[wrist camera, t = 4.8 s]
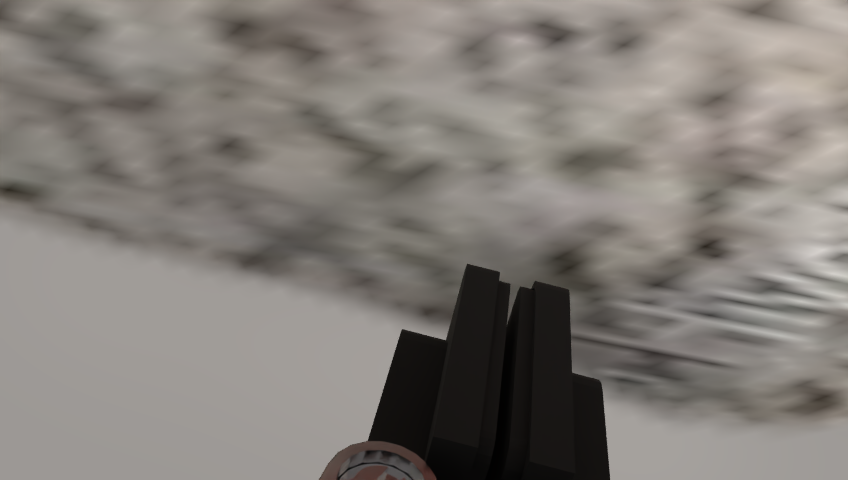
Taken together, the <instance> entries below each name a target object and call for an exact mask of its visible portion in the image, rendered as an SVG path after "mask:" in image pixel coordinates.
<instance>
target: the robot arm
mask: <svg viewBox="0 0 848 480" xmlns="http://www.w3.org/2000/svg"><path fill="white" fill-rule="evenodd" d="M499 275H500V272H498V271H494V270H490V269H486V268H482V267H478V266H474V265H470V264H467V265H466V269H465V272H464V276H463V280H462V283H461V287H460V291H459V294H458V298H457V302H456V305H455V309H454V313H453V316H452V320H451V324H450V328H449V331H448V335H447V339H446V340H442V339H438V338H434V337H430V336H427V335H423V334H419V333H415V332H411V331H407V330H403V329H402V331H401V334H400V337H399V340H398V344H397V347H396V350H395V353H394V357H393V360H392V363H391V367H390V370H389V373H388V376H387V380H386V383H385V386H384V389H383V393H382V396H381V399H380V403H379V406H378V409H377V413H376V416H375V419H374V422H373V426H372V429H371V432H370V436H369V439H368V441H366V442H362V443H357V444H353V445H350V446H348V447H347V448H345V449H343V450H342V451H340V452H338V453H337V454H336V455H335V457H334V458H333V459H332V460H331V461H330V462H329V463H328V465H327V467H326V468H325V470H324V472H323V474H322V475H321V477H320V478H319V480H610V473H609V461H608V451H607V450H608V449H607V438H606V426H605V414H604V403H603V391H602V385H601V382H600V381H599V380H598V379H594V378H590V377H586V376H582V375H578V374H574V373H572V360H571V328H570V297H569V290H568V289H565V288H561V287H557V286H553V285H549V284H545V283H541V282H537V281H535V282H534V284H533V286H532V289H529V288H525V287H521V286H520V288H519V290H518V293H517V296H516V299H515V302H514V305H513V308H512V312H511V315H510V318H509V321H508V324H507V316H508V306H509V295H510V284H509V283H505V282H501V281H499Z"/></svg>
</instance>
